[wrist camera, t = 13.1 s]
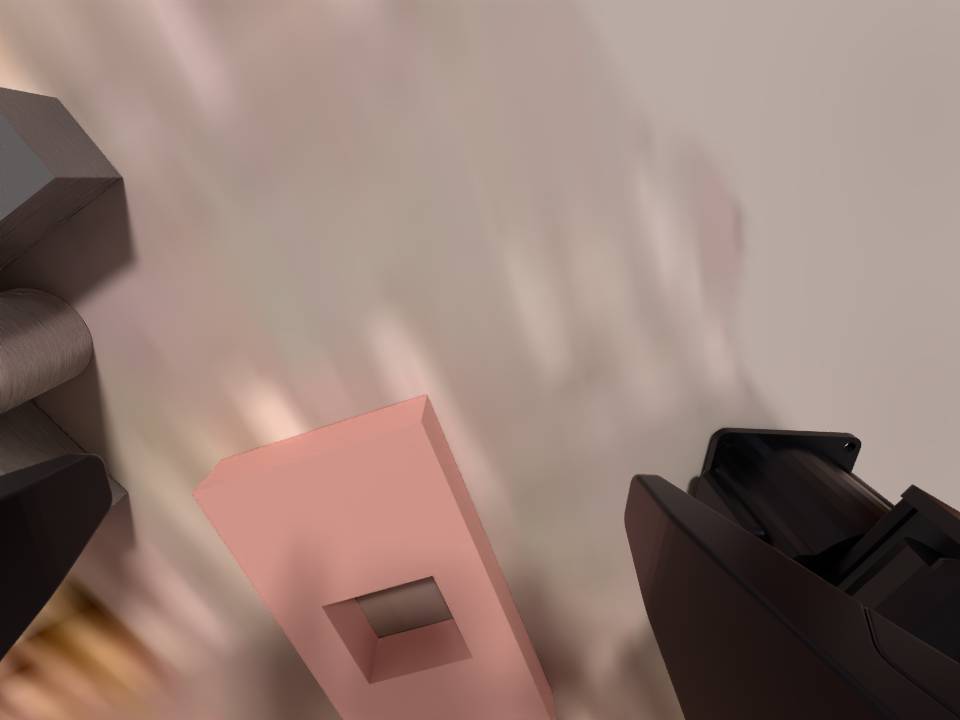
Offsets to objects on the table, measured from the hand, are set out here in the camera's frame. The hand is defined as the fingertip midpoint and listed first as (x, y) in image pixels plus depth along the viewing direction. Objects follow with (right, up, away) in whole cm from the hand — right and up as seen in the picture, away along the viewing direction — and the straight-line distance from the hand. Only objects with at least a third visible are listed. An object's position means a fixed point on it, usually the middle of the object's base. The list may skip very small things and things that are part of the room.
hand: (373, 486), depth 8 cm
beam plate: (-2, -10, +17) cm, 19 cm away
